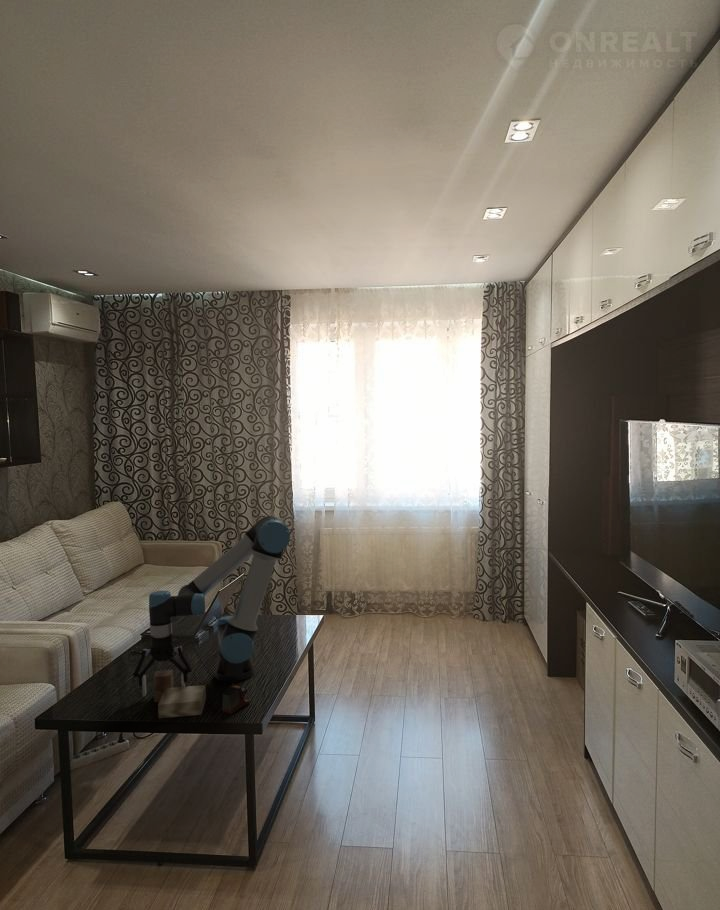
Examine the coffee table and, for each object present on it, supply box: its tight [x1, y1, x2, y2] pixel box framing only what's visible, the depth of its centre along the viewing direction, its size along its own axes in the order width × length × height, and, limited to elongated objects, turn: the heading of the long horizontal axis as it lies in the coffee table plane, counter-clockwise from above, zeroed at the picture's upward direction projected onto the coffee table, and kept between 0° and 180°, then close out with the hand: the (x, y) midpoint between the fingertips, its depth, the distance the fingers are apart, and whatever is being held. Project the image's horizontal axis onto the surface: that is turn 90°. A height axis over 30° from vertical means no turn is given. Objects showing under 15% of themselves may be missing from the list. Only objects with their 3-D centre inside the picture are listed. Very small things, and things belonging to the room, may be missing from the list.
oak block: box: [157, 684, 207, 719], centre depth 222 cm, size 14×14×5 cm
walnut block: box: [152, 669, 175, 703], centre depth 231 cm, size 6×6×9 cm
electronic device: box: [221, 685, 251, 715], centre depth 220 cm, size 4×10×8 cm, turn 148°
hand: (164, 693), depth 231 cm, fingers open, 13 cm apart
